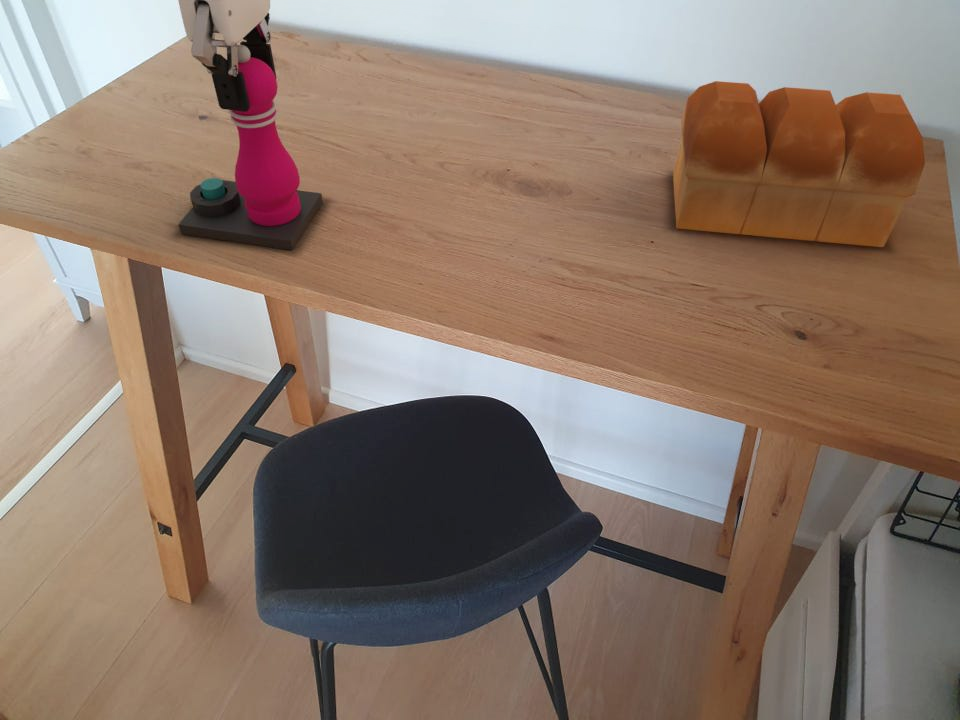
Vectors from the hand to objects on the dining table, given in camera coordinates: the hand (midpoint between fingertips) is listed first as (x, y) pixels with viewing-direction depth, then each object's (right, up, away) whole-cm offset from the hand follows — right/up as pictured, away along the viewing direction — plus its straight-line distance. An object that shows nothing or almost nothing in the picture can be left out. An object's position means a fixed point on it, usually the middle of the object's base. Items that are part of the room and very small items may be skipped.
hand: (248, 92), depth 81 cm
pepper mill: (0, -11, +11) cm, 15 cm away
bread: (+61, -10, +15) cm, 64 cm away
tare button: (-7, -8, +11) cm, 16 cm away
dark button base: (-3, -11, +12) cm, 17 cm away
